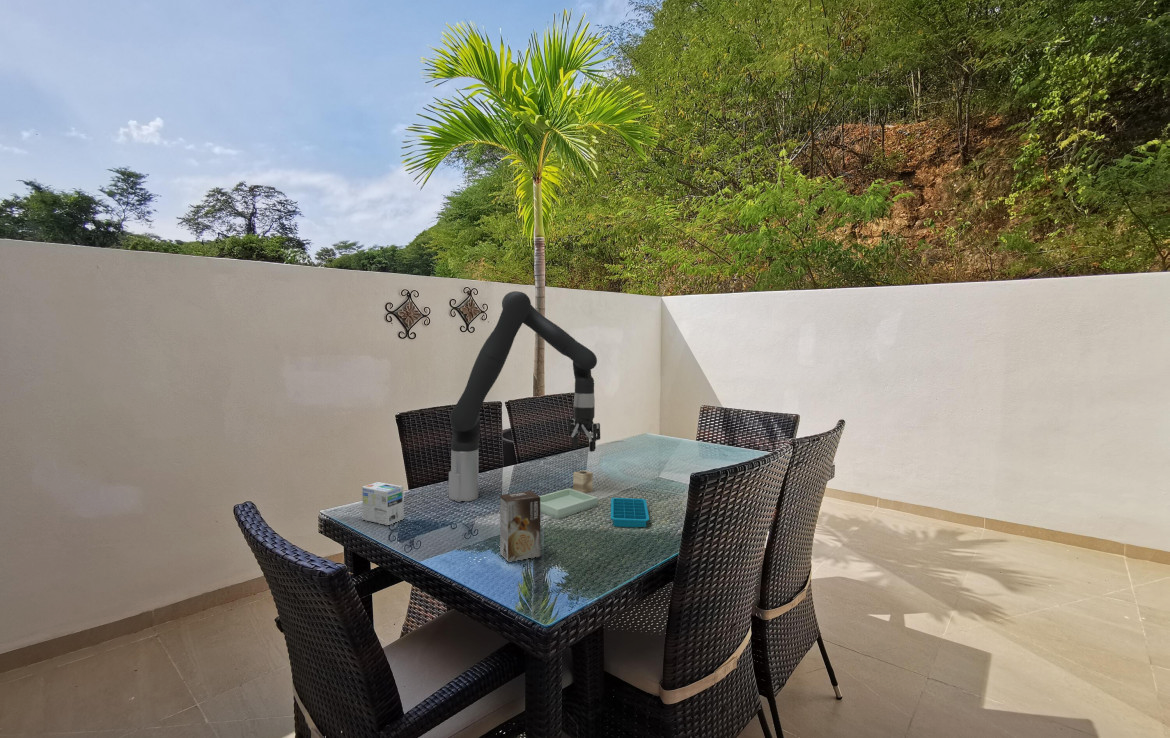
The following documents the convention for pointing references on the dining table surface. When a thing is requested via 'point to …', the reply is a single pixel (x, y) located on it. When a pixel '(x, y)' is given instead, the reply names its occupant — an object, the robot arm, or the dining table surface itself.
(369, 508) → the light bulb box
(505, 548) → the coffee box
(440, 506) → the dining table surface
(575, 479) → the birch block
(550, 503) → the tray
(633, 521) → the ice cube tray
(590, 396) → the robot arm
